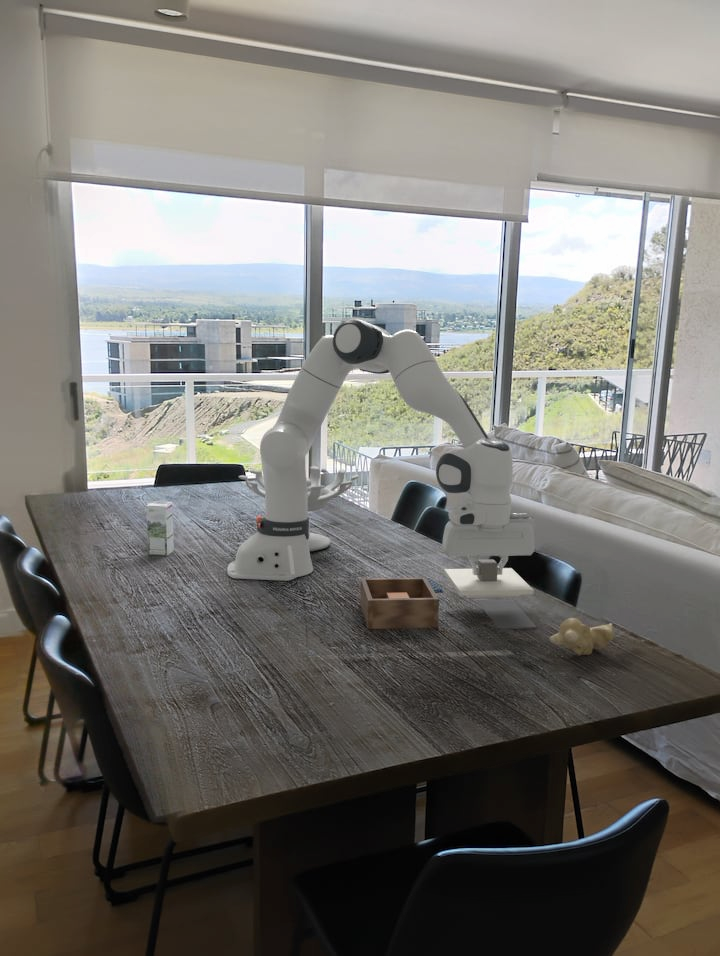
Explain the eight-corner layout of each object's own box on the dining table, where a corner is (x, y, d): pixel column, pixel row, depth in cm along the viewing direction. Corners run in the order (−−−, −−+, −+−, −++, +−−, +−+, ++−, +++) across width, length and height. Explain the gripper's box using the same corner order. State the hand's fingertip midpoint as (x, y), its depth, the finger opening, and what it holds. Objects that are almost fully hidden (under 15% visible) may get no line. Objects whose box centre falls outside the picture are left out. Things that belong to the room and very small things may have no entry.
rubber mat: (454, 630, 165) (454, 628, 165) (437, 602, 182) (437, 600, 182) (536, 628, 167) (536, 626, 167) (512, 600, 184) (512, 599, 184)
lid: (459, 601, 165) (460, 573, 164) (443, 578, 181) (444, 552, 179) (532, 599, 167) (534, 571, 166) (510, 577, 182) (512, 551, 181)
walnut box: (367, 632, 163) (368, 600, 162) (360, 608, 178) (360, 578, 176) (438, 630, 165) (439, 599, 163) (425, 606, 179) (425, 577, 178)
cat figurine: (619, 623, 154) (574, 615, 148) (617, 661, 152) (572, 654, 146) (587, 622, 161) (544, 614, 155) (585, 657, 159) (541, 651, 153)
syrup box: (174, 550, 222) (173, 501, 219) (167, 556, 216) (165, 505, 214) (154, 550, 222) (153, 500, 220) (147, 555, 217) (145, 504, 214)
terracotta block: (388, 619, 169) (389, 599, 168) (386, 612, 173) (386, 592, 172) (409, 618, 169) (410, 599, 168) (406, 611, 173) (406, 592, 173)
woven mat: (404, 600, 185) (404, 592, 184) (391, 586, 195) (391, 579, 194) (445, 597, 187) (445, 589, 187) (430, 584, 197) (431, 576, 197)
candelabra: (362, 533, 246) (363, 447, 241) (349, 564, 211) (351, 465, 207) (256, 528, 249) (255, 444, 244) (226, 559, 215) (225, 461, 210)
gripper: (531, 510, 175) (528, 569, 177) (441, 510, 173) (439, 570, 175) (540, 516, 169) (537, 577, 171) (447, 517, 166) (445, 579, 169)
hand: (487, 574), depth 173 cm, fingers closed on lid, 3 cm apart
